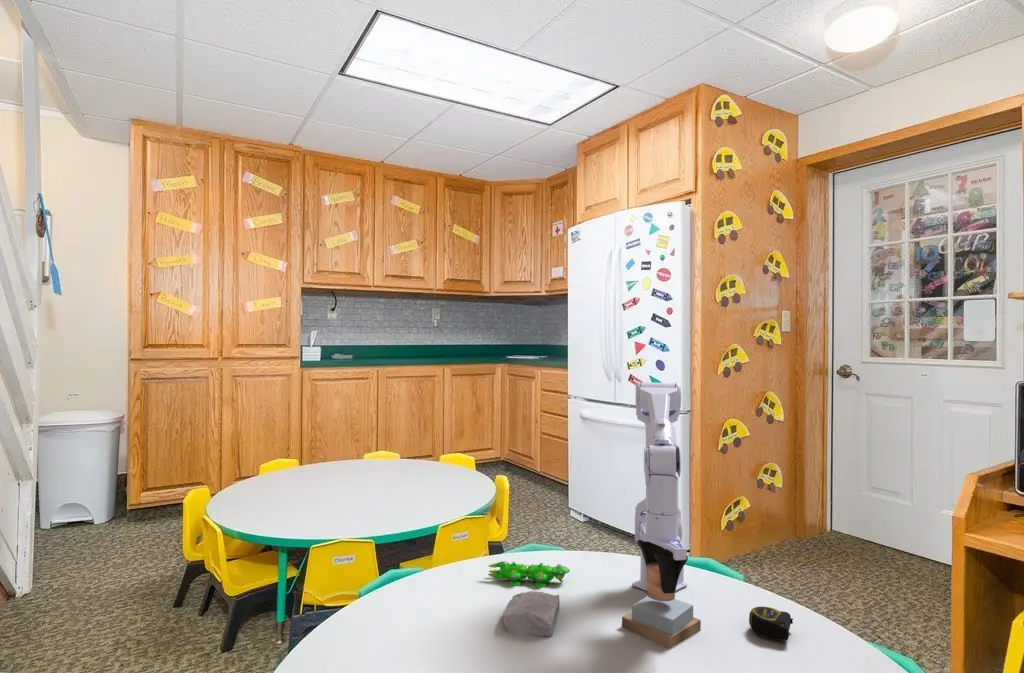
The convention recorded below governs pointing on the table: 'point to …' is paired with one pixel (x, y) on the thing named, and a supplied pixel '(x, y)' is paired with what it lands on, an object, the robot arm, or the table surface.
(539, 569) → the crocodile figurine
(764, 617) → the tape measure
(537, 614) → the stone block
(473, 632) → the table surface
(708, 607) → the table surface
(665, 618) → the tower top
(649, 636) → the tower base
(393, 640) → the table surface
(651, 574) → the brown cylinder
